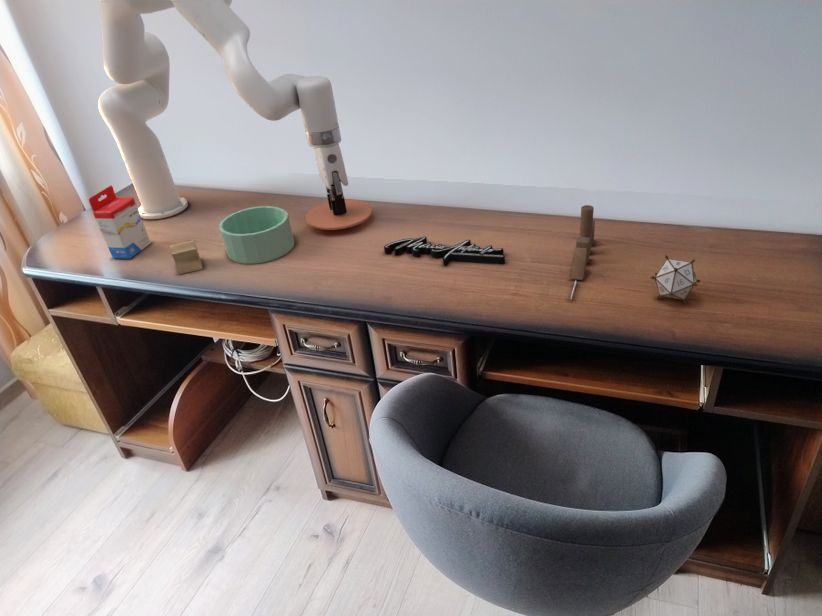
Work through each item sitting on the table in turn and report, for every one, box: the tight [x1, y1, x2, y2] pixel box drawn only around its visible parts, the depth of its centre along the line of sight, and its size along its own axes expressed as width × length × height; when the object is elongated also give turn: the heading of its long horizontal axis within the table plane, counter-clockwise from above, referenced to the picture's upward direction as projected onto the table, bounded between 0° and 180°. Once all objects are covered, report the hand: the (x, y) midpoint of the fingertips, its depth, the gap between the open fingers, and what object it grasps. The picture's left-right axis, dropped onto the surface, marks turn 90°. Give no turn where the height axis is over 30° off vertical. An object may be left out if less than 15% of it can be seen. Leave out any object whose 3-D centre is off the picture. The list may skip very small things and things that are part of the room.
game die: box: [650, 254, 701, 305], centre depth 117 cm, size 9×8×10 cm
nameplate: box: [383, 236, 506, 267], centre depth 138 cm, size 27×2×10 cm
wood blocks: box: [570, 204, 596, 300], centre depth 127 cm, size 25×3×10 cm, turn 164°
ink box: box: [88, 185, 152, 260], centre depth 146 cm, size 8×5×15 cm, turn 169°
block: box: [170, 239, 204, 275], centre depth 140 cm, size 5×5×5 cm
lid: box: [305, 190, 373, 231], centre depth 153 cm, size 16×16×7 cm
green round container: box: [218, 205, 295, 265], centre depth 145 cm, size 15×15×7 cm
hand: (338, 210), depth 154 cm, fingers closed on lid, 2 cm apart
